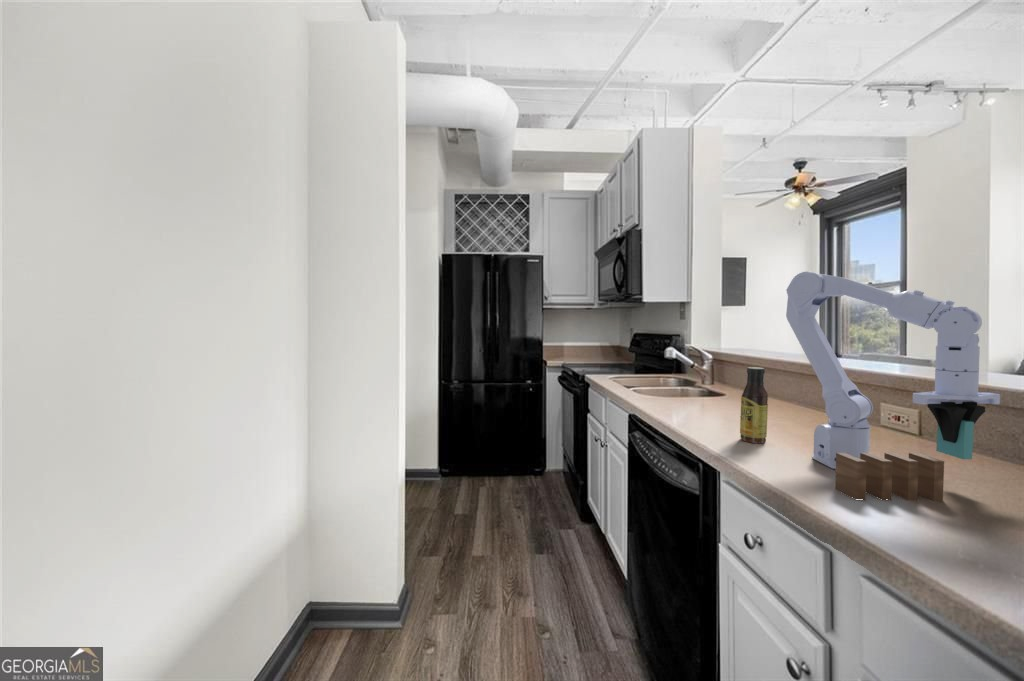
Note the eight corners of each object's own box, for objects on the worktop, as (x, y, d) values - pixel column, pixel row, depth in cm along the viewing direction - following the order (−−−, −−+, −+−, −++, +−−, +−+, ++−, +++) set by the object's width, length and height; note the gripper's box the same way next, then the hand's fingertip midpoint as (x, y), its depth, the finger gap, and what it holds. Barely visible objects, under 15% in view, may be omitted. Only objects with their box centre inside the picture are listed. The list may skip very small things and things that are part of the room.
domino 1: (856, 500, 75) (857, 461, 75) (835, 489, 80) (836, 452, 80) (865, 500, 75) (866, 461, 75) (843, 489, 80) (844, 452, 80)
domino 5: (963, 459, 78) (965, 421, 78) (936, 451, 83) (938, 415, 83) (972, 459, 78) (974, 422, 78) (944, 451, 83) (946, 415, 83)
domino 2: (882, 500, 75) (883, 461, 75) (859, 489, 80) (860, 452, 80) (891, 500, 75) (892, 461, 75) (868, 489, 80) (868, 452, 80)
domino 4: (933, 500, 75) (934, 461, 74) (907, 489, 80) (908, 452, 79) (943, 500, 75) (944, 461, 74) (916, 489, 80) (917, 452, 79)
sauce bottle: (735, 438, 116) (736, 366, 116) (758, 438, 116) (759, 366, 116) (748, 444, 110) (749, 368, 109) (772, 444, 110) (773, 368, 109)
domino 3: (907, 500, 75) (909, 461, 74) (883, 489, 80) (884, 452, 79) (917, 500, 75) (918, 461, 74) (892, 489, 80) (893, 452, 79)
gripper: (939, 373, 76) (937, 447, 77) (1020, 372, 76) (1017, 447, 77) (903, 369, 83) (901, 437, 84) (977, 368, 83) (975, 437, 84)
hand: (954, 441), depth 81 cm, fingers closed on domino 5, 1 cm apart
